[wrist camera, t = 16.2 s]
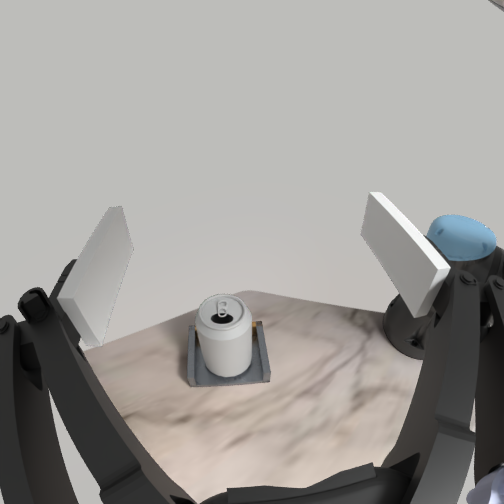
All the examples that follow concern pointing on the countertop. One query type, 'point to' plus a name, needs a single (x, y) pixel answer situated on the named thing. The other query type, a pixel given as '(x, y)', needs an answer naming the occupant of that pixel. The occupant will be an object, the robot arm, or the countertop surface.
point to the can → (225, 334)
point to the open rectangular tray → (253, 374)
